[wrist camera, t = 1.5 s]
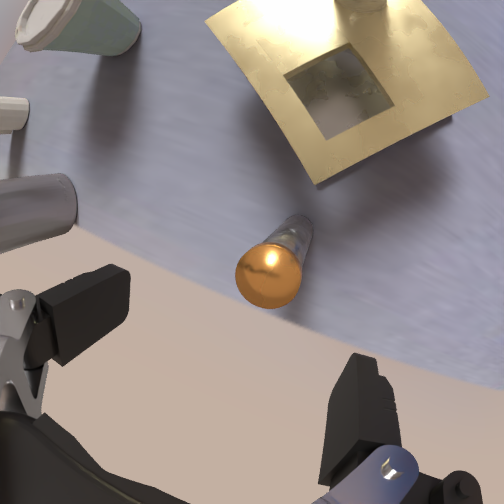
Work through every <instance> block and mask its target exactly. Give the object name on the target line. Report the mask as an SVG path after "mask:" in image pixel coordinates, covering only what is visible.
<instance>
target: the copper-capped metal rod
mask: <svg viewBox="0 0 504 504" xmlns="http://www.w3.org/2000/svg"><path fill="white" fill-rule="evenodd" d="M312 236H313V226H312V223H311V222H310V220H309V219H308V218H306V217H305V216H302V215H293V216H291V217H289V218H288V219H287V220H286V221H285V222H284V223H282V224H281V225H280V226H279V227H278V228H277V229H276V230H275V231H274V232H273V233H272V234H271V235H270V236H269V237H268V238H267V239H266V240H265V241H264V242H262V243H260V244H258V245H255V246H254V247H252V248H251V249H250V250H249V251H248V252H246V253H245V254H244V255H243V256H242V257H241V259H240V260H239V262H238V264H237V267H236V272H235V278H236V284H237V287H238V289H239V291H240V293H241V294H242V295H243V297H244V298H245V299H246V300H247V301H249V302H250V303H252V304H253V305H255V306H258V307H261V308H265V309H275V308H279V307H282V306H284V305H286V304H288V303H289V302H290V301H291V300H292V299H293V298H294V297H295V296H296V294H297V292H298V289H299V286H300V283H301V279H302V266H303V263H304V260H305V257H306V254H307V251H308V248H309V245H310V242H311V239H312Z"/></svg>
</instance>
